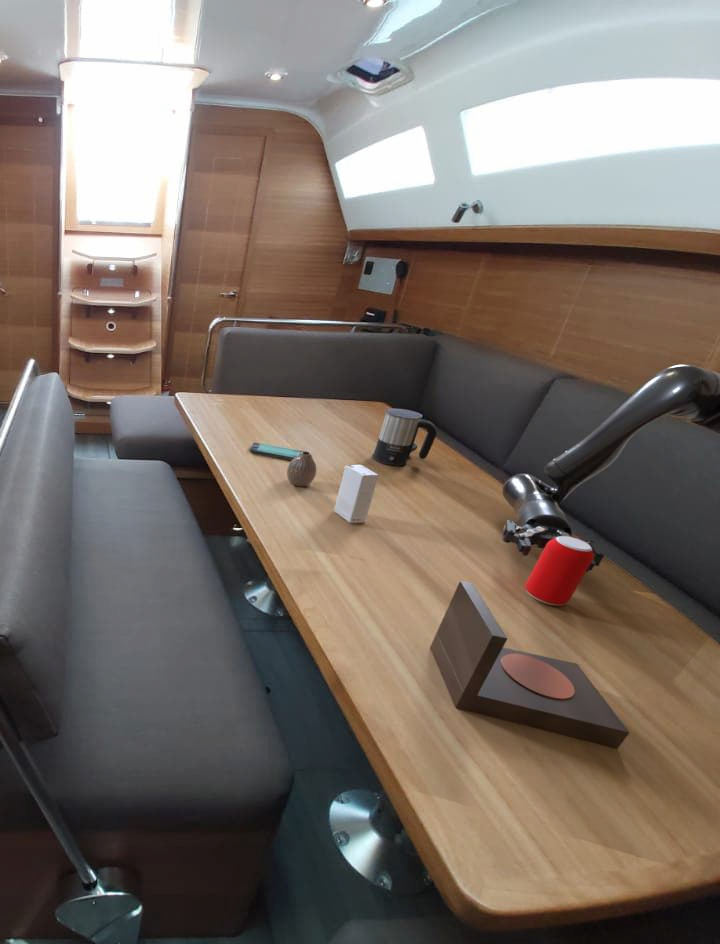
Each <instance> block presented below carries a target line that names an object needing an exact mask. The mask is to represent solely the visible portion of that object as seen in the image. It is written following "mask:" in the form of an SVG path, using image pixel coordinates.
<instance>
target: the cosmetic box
mask: <svg viewBox="0 0 720 944" xmlns="http://www.w3.org/2000/svg"><path fill="white" fill-rule="evenodd" d="M378 480H379V474H378V473H376V472H374V471H373V470H370V468H367V467H366V466H364V465H362V464H350V465H349V464H348V465H345V466H344V470H343V474H342V478H341V481H340V486H339V490H338V493H337V497H336V501H335V506H334V509H333V511H334V512H335V513H336V514H337V515H338V516H339V517H341V518H342V519H344V520H345V521H347V522H348V523H349V524H361V523H366V520H367V517H368V513H369V510H370V507H371V503H372V500H373V496H374V493H375V489H376V486H377V483H378Z"/></svg>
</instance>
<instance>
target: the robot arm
mask: <svg viewBox="0 0 720 944" xmlns="http://www.w3.org/2000/svg"><path fill="white" fill-rule="evenodd" d="M664 416H666V417H669V418H673V419H676V420H679V421H682V422H686V423H688V424H692V425H695V426H697V427H701V428H704V429H706V430H708V431H711V432H713V433H714V434H717V435H718V436H719V435H720V373H719V372H716V371H714V370H710V369H708V368H704V367H700V366H697V365H694V364H677V365H672V366H670V367H666V368H665V369H662V370H661V371H659V372H658V373H656V374H654V375H653V376H652V377H651V378H649V379H648V380H647V381H645V383H643V384H642V385H641V386H640V387H638V388H637V390H635V391H634V392H633V393H632V394H631V395H630V396H629V397H628V398H627V399H626V400H625V401H623V403H621V404H620V405H619V406H618V407H617V408H616V409H615V410H613V411H612V412H611V413H610V415H608V416H607V417H606V418H605V419H604V420H603V421H602V422H601V423H599V425H597V427H595V428H594V429H593V430H592V431H591V432H589V433H588V434H587V435H585V436H584V437H583V438H582V439H580V440H578V442H576V443H575V444H573V445H572V446H571V447H569V448H567V449H566V450H565V451H562V452H561V453H560V454H558V455H557V456H555V457H554V458H552V459H551V460H549V461H548V462H547V463H546V464H545V465H544V473H545V474H546V476H547V477H548V478H549V479H550V480H551V481H552V482H553V483H554V484H555V485H554V486H550V485H548V484H547V483H545V482H544V481H542V480H540V479H539V478H537V477H536V476H534V475H532V474H529V473H517V474H514V475H512V476H511V477H509V478H507V480H505V482H504V483H503V485H502V490H501V493H502V497H503V499H504V500H505V501H506V502H507V503H508V505H509V506H511V508H512V509H514V511H515V512H516V522H517V523H515V521H513V520H511V519H507V520H506V521H505V523H504V526H503V528H502V530H501V533H502V536H501V537H502V541H503V542H504V543H506V544H507V543H508V544H510V543H514V546H515V547H516V550H517V551H518V552H519V553H520V554H521V556H526V557H528V555H529V553H530V552H531V549H532V548H533V547H535V548H539V549H544V548H545V546H546V544H547V543H548V542H549V541H550V540H552V539H554V538H556V537H558V536H568V537H573V538H576V537H575V536H573V530H572V527H571V524H570V522H569V521H568V518H567V516H566V514H565V513H564V511H563V510H562V508H560V506H561V504H562V503H563V502H564V501H565V499H567V497H568V496H569V495H570V494H571V493H572V492H573V491H574V490H575V489H576V488H578V487H579V486H580V485H581V484H583V483H585V482H586V481H588V480H589V479H591V478H593V477H594V476H597V475H598V474H599V473H601V472H602V471H604V470H606V469H607V468H608V467H609V466H610V465H612V464H613V463H614V462H615V461H616V460H617V459H618V457H619V456H620V455H621V453H622V451H623V450H624V448H625V446H626V445H627V443H629V441H630V440H631V439H632V437H633V436H634V435H635V434H636V433H637V432H639V431H640V430H641V429H643V428H644V427H645V426H647V425H649V424H650V423H652V422H654V421H656V420H658V419H660V418H662V417H664ZM518 533H519V534H518ZM586 543H587V544H589V545H590V546H591V547H592V550H593V554H594V558H593V560H592V562H591V564H590V566H589V567H588V569H587V571H586V572H585V573H588V572H589V571H592V570H593V569H594V567H599V566H600V564H601V562H602V560H603V559H604V558H605V556H606V554H605V552H604V550H603V549H602V548H601V546H600V544H599V543H598V542H597V541H596V540H594V539H588V540H587V541H586Z"/></svg>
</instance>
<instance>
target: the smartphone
mask: <svg viewBox="0 0 720 944" xmlns="http://www.w3.org/2000/svg"><path fill="white" fill-rule="evenodd" d="M303 451H304V450H299V449H293V448H289V447H283V446H276V445H273V444H265V443H261V442H253V443H252V445H251V446H250V449H249V453H250V454H254V455H261V456H266V457H271V458H276V459H281V460H288V461H292V460H293V459H294V458H295V457H297V456H298V455H299V454H300V453H301V452H303Z"/></svg>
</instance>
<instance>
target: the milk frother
mask: <svg viewBox="0 0 720 944" xmlns="http://www.w3.org/2000/svg"><path fill="white" fill-rule="evenodd" d="M384 414H385V416H384V420H383V423H382V426H381V428H380V429H381V430H380V433H379V436H378V440H377V443H376V445H375V449H374V451H373V453H372V455H371V457H372V459H373V460H375V461H376V462H379V463H381V464H385V465H389V466H397V467H398V466H400V467H401V466H405V465H407V464H408V459H409V458H410V456H411V453H413V452H415V451H416V450H417V449H418V444H416V443H415V441H416V437H417V434H418V431H419V428H422V429H425V430H426V431H427V433H426V435H425V438H424V440H423V442H422V445H421V447H420V450H419V452H418V458H420V459H422V460H425V459H426V458H427V457H428V454H429V452H430V451H431V449H432V446H433V444H434V442H435V440H436V438H437V435H438V434H437V433H438V430H437V427H436V425H435V424H434V422H432V421H430V420H426V419H421V418H423V414H421V413H419V412H417V411H413V410H410V409H404V408H387V409H385V410H384Z"/></svg>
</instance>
